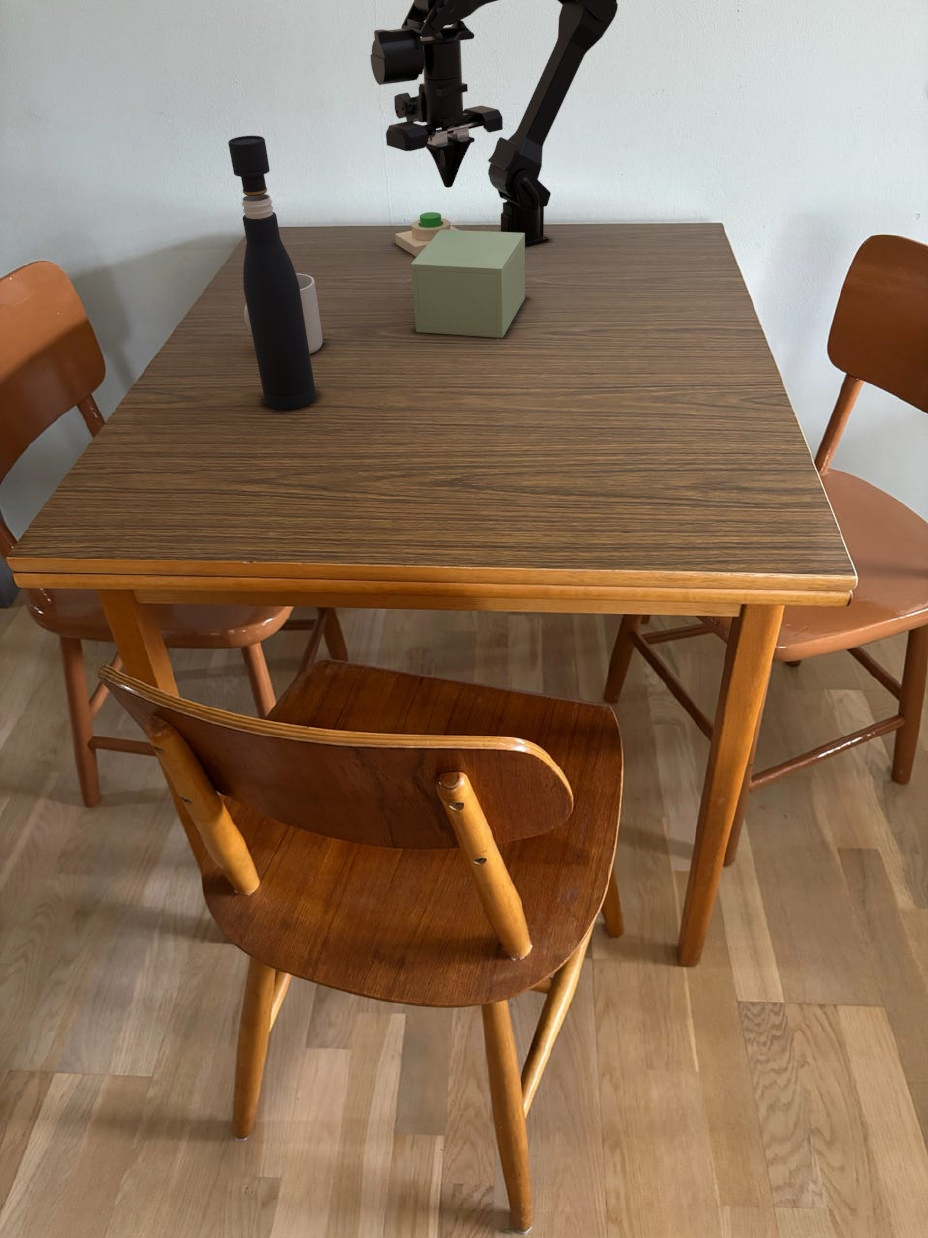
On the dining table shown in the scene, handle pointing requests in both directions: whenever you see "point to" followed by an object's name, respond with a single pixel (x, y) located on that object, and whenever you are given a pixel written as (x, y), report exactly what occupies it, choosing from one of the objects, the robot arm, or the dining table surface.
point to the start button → (430, 220)
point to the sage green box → (469, 282)
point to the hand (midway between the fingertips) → (448, 186)
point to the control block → (420, 236)
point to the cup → (305, 312)
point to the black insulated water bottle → (271, 287)
